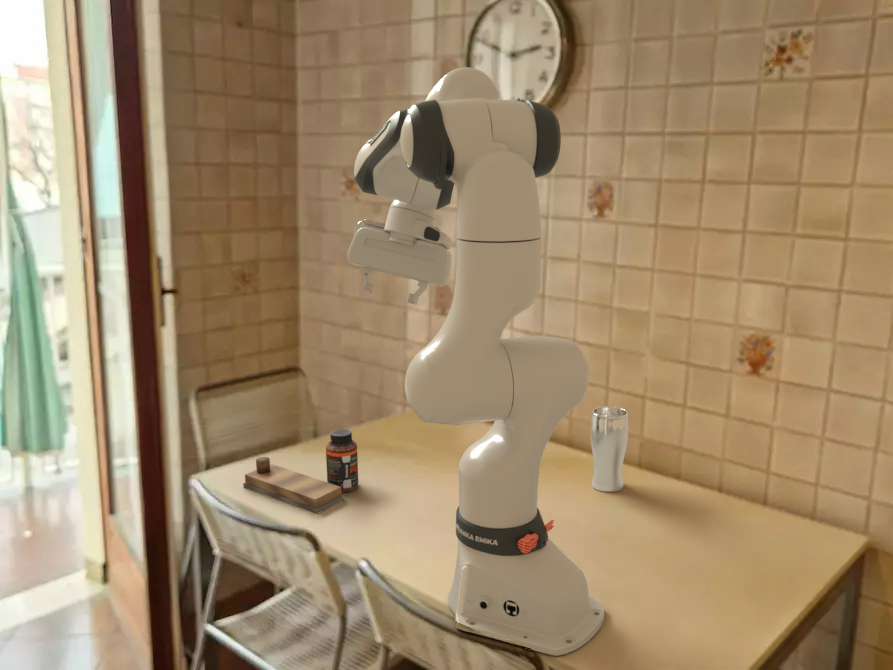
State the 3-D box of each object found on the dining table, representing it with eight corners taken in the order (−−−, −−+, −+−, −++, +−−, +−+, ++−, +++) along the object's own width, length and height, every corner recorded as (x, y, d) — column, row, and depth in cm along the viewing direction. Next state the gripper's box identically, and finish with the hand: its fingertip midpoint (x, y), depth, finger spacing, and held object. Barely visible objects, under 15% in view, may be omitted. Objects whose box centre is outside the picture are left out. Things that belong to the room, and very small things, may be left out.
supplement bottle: (356, 494, 157) (354, 437, 154) (325, 494, 157) (322, 438, 154) (360, 481, 163) (358, 426, 160) (330, 481, 163) (327, 426, 160)
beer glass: (623, 479, 162) (626, 406, 159) (627, 493, 156) (631, 418, 152) (587, 477, 163) (590, 405, 160) (590, 492, 156) (592, 417, 153)
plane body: (344, 500, 154) (342, 475, 153) (317, 513, 149) (315, 487, 148) (271, 475, 166) (269, 451, 165) (243, 487, 161) (241, 462, 159)
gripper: (353, 213, 159) (334, 282, 159) (453, 237, 155) (434, 308, 154) (363, 220, 166) (345, 287, 165) (460, 243, 161) (441, 312, 161)
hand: (389, 297), depth 160 cm, fingers open, 8 cm apart
